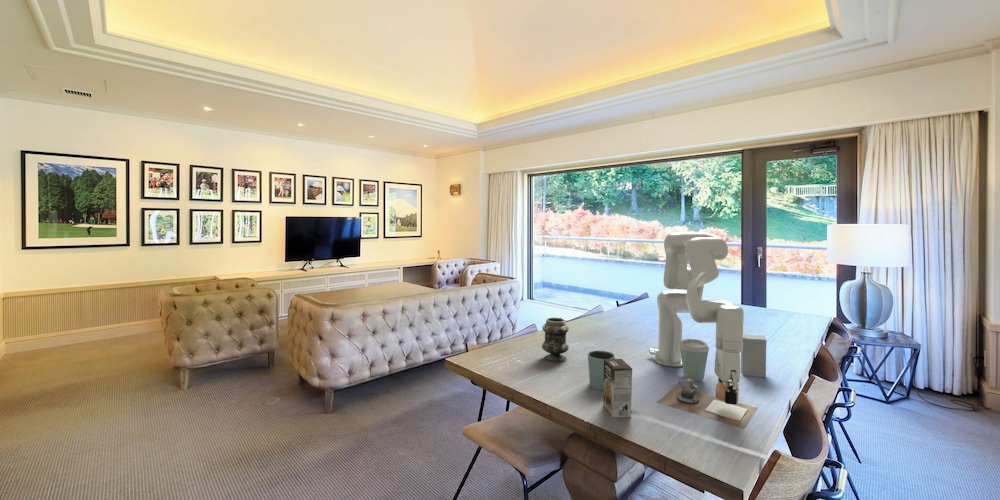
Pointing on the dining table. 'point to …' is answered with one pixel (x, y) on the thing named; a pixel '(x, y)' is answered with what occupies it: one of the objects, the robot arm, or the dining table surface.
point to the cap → (723, 391)
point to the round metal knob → (687, 391)
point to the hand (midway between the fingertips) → (726, 398)
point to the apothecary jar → (555, 339)
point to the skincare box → (753, 355)
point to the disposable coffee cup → (694, 358)
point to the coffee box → (617, 387)
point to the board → (703, 404)
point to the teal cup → (597, 368)
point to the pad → (726, 410)
